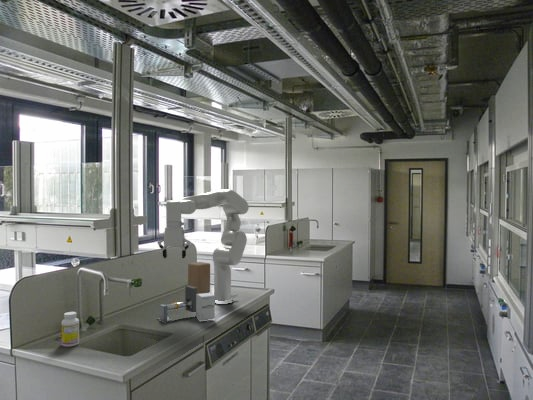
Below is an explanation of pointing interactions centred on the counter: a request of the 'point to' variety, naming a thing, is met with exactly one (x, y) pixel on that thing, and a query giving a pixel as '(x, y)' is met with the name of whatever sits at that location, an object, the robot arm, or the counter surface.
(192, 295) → the grey upright panel
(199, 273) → the block
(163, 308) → the pipe rig
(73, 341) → the supplement bottle
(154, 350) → the counter surface
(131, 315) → the counter surface
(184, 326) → the counter surface
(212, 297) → the supplement box
